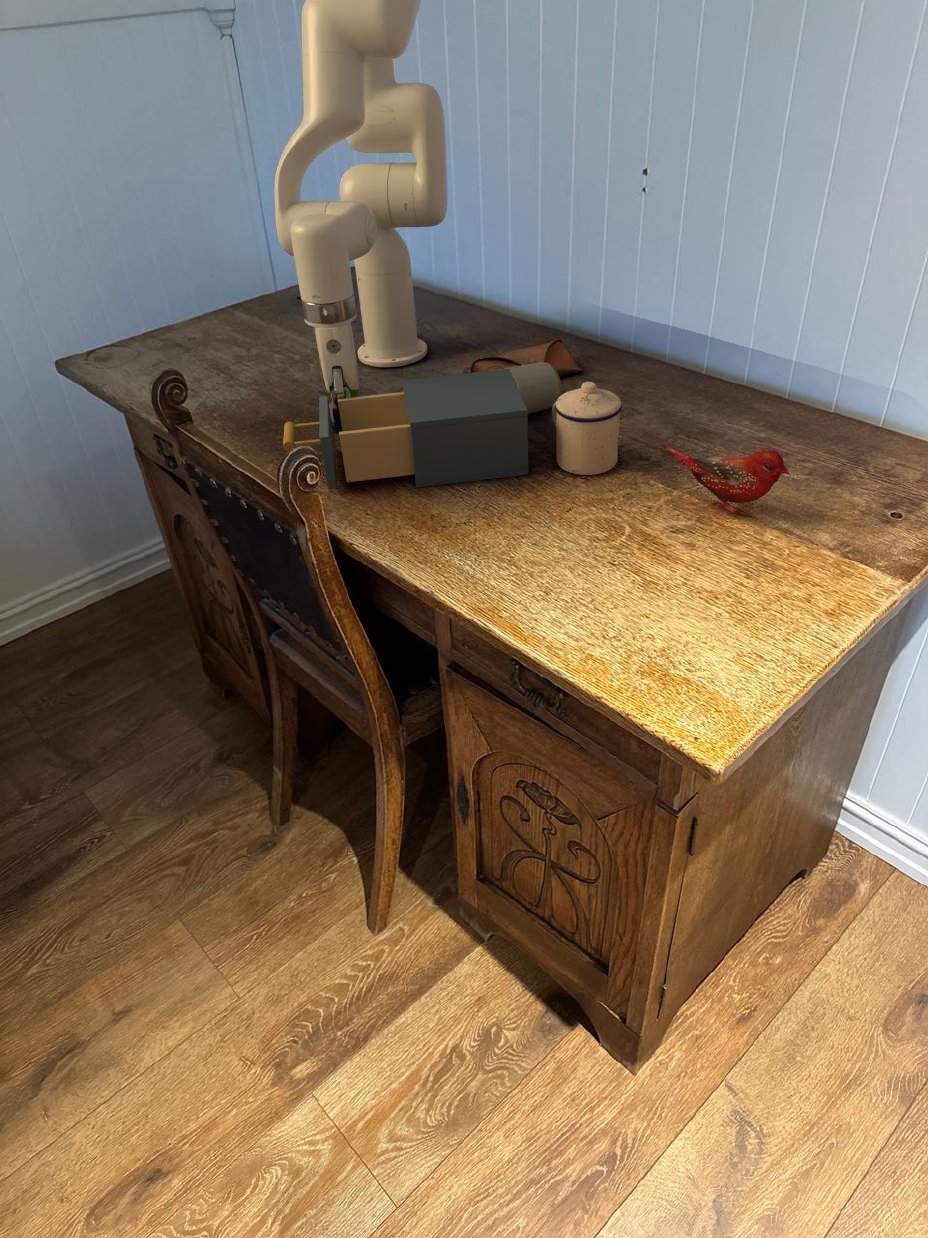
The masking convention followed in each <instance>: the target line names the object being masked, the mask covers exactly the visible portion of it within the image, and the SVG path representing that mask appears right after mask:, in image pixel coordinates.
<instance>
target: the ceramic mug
mask: <svg viewBox="0 0 928 1238" xmlns="http://www.w3.org/2000/svg"><path fill="white" fill-rule="evenodd" d="M504 369H510V371H511V373H512V375H513V378H514V380H515V382H516V385H517V387H518V389H519V392H520V394H521V396H522V399H523V401H524V403H525V406H526V408H527V411H528V415H532V414H534V413H538V412H541V411H542V412H543V411H545V410H548V409H551V408H553V405H554V403H555V402H556V401H557V400H558V398H559V397H560V396H561V395H562V383H561V378H559V375H558V373H557V371H556V369H555V368H554V367H553V366H552V365H551V364H549V363H546V362H537V363H532V364H527V365H521V366H515V367H509V368H504Z"/></svg>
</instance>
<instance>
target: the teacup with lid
mask: <svg viewBox="0 0 928 1238" xmlns="http://www.w3.org/2000/svg"><path fill="white" fill-rule="evenodd" d="M551 408H552V409H551V414H552V415H551V416H552V420H553V423H554V426H555V428H556V430H555V431H556V436H555V437H556V438H555V439H556V443H555V444H556V445H555V448H556V451H555V453H556V455H555V456H556V457H555V459H556V463H557V465H558V467H560V469H562V470H564V472H567V473H570V474H574V475H580V476H594V475H600V474H603V473H606V472H608V471H610V470H612V469H613V468H614V467H615V466H616V465H617V463H618V457H619V456H618V455H619V453H618V452H619V435H620V418H621V417H620V416H621V411H622V409H623V403H622V401H621V399H620V397H619V396H618V395H617V394H615V393H613V392H612V391H610V390H608V389H607V390H606V389H602V388H598V387H597V384H596V383H595V382H593V381H585V382H582V384H581V387H579V388H576V389H572V390H569V391H566V392H564V393H563V394H561V395H560V397H559V398H558V400H557V401H556V402H555V403H554V405H553V406H552V407H551Z"/></svg>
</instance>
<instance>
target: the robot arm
mask: <svg viewBox="0 0 928 1238" xmlns="http://www.w3.org/2000/svg"><path fill="white" fill-rule="evenodd" d="M421 4H422V0H305V1H304V3H303V5H302V9H301V18H300V19H301V58H302V60H301V61H302V89H303V91H302V92H303V93H302V94H303V95H302V99H303V100H302V101H303V102H302V103H303V116H302V119H301V123H300V124H299V126H298V127H297V128H296V129H295V131H294V132H293V134H292V136H290V138H289V140H288V142H287V143H286V146H285V148H284V149H283V151H282V153H281V156H280V158H279V161H278V164H277V168H276V172H275V177H274V184H273V185H274V189H273V190H274V218H275V219H274V220H275V229H276V235H277V240H278V242H279V245H280V246H281V248H282V250H283V251H284V252H285V253H286V254H287V255H290V256H292V257H293V259H294V264H295V270H296V276H297V282H298V289H299V294H300V300H301V306H302V312H303V313H302V314H303V318H304V322H305V324H306V325H308V326H309V327H313V328H314V334H315V341H316V345H317V346H316V347H317V351H318V352H317V353H318V358H319V363H320V368H321V372H322V373H321V374H322V377H323V380H324V381H323V382H324V386H325V389H326V391H327V393H328V394H330V393H331V394H332V403H333V408H332V412H333V419H334V425H335V429H334V431H335V434H336V435H339V432H342V425H341V419H340V412H339V406H338V399H342V398H351V396H350V390H355V391H357V390H358V391H359V389H360V380H359V371H358V370H359V369H358V362H357V358H358V360H359V361H360V362H361V363H362V364H364V365H367V366H369V367H375V368H398V367H404V366H408V365H411V364H414V363H416V362H418V361H420V360H422V359H424V358H425V356H426V355H427V353H428V345H427V343H426V342H425V341H424V340H423V339H420V338H418V328H417V327H418V326H417V318H416V306H415V295H414V294H415V293H414V284H413V272H412V262H411V255H410V251H409V247H408V245H407V244H406V242H405V240H404V239H403V237H402V236H401V234H400V233H399V232H398V230H397V228H428V227H429V228H430V227H435V226H438V225H440V224H442V222H444V220H445V218H446V216H447V212H448V205H449V203H448V200H449V198H448V197H449V196H448V193H449V191H448V188H449V187H448V167H447V143H446V142H447V140H446V122H445V113H444V112H445V111H444V106H443V102H442V98H441V96H440V94H439V92H438V90H436V88H435V87H434V86H432V85H430V84H428V83H423V82H404V83H403V82H401V83H400V82H399V83H397V81H396V78H395V77H396V76H395V67H394V60H395V59H398V58H400V57H401V56H402V55H404V53H405V52H406V50H407V49H408V46H409V43H410V41H411V37H412V34H413V31H414V27H415V23H416V20H417V17H418V13H419V10H420V7H421ZM345 139H346V142H347V144H348V146H349V147H350V148H351V149H352V150H354V151H356V152H358V153H361V154H405V153H406V154H412V155H413V156H414V158H415V161H416V162H368V163H361V164H356V165H354V166H352V167H349V168H348V169H347V170H346V171H345V172H344V173H343V175H342V176H341V179H340V182H339V199H340V200H301V189H302V185H303V179H304V176H305V174H306V172H307V170H308V168H309V166H310V165H311V164H312V163H313V162H314V160H315V159H316V158H317V157H319V156H320V155H321V154H323V153H324V152H325V151H326V150H327V149H329V148H331V147H332V146H335V145H336V144H337V143H339V142H342V141H343V140H345ZM352 261H354V267H355V269H354V271H355V276H356V284H357V292H358V300H359V308H360V315H361V324H362V331H363V339H364V343H363V344H362V345H361V346H359V348H358V349H357V354H356V347H355V340H354V333H353V328H352V322H353V321H355V320H356V319H357V318H358V317H357V316H358V314H357V307H356V301H355V293H354V286H353V278H352V271H351V262H352ZM333 386H335V388H333ZM344 393H347V397H346V396H344ZM335 394H336V396H335Z"/></svg>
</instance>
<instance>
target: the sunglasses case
mask: <svg viewBox="0 0 928 1238" xmlns="http://www.w3.org/2000/svg"><path fill="white" fill-rule="evenodd" d="M537 362H546V363H549V364H551V365H552V366H553V367H554V368H555V369H556V371H557V373H558V375H559V378H560V379H561V378H564V377H567V376H571V375H574V374H576V373H580V372H583V371H584V369H583V368H582V367H579V365H578V364H577V362H576V361H575V359H574V358H573V357H572V355H571V354H570V353H569V351H568V350H567V348H566V346H565V345H564V344H563V340H562V339H555V340H553V341H550V342H548V343H544V344H539V345H534V346H529V347H525V348H521V349H517V350H513V351H508V352H506V353H501V354H499V355H494V356H485V357H480V358H477V359H476V360H474V361H473V362H472V364H471V366H470V373H473V372H483V371H492V370H501V369H504V368H509V367H515V366H521V365H527V364H532V363H537Z"/></svg>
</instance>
